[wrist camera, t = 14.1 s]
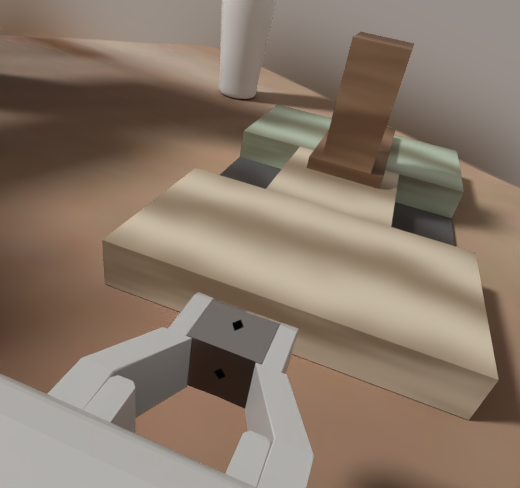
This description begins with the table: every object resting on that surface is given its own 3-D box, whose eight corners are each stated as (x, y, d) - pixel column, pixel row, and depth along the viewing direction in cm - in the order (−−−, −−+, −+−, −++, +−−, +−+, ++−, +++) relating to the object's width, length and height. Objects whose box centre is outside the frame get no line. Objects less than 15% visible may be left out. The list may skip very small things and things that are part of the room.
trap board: (468, 420, 20) (498, 379, 18) (104, 283, 24) (102, 240, 22) (445, 177, 46) (456, 151, 44) (272, 129, 50) (277, 104, 48)
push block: (379, 189, 33) (427, 53, 28) (306, 167, 34) (338, 33, 29) (392, 138, 44) (428, 34, 39) (337, 123, 46) (364, 20, 40)
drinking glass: (203, 88, 60) (213, -39, 51) (240, 86, 64) (256, -31, 55) (232, 103, 56) (248, -31, 47) (270, 100, 60) (291, -23, 51)
